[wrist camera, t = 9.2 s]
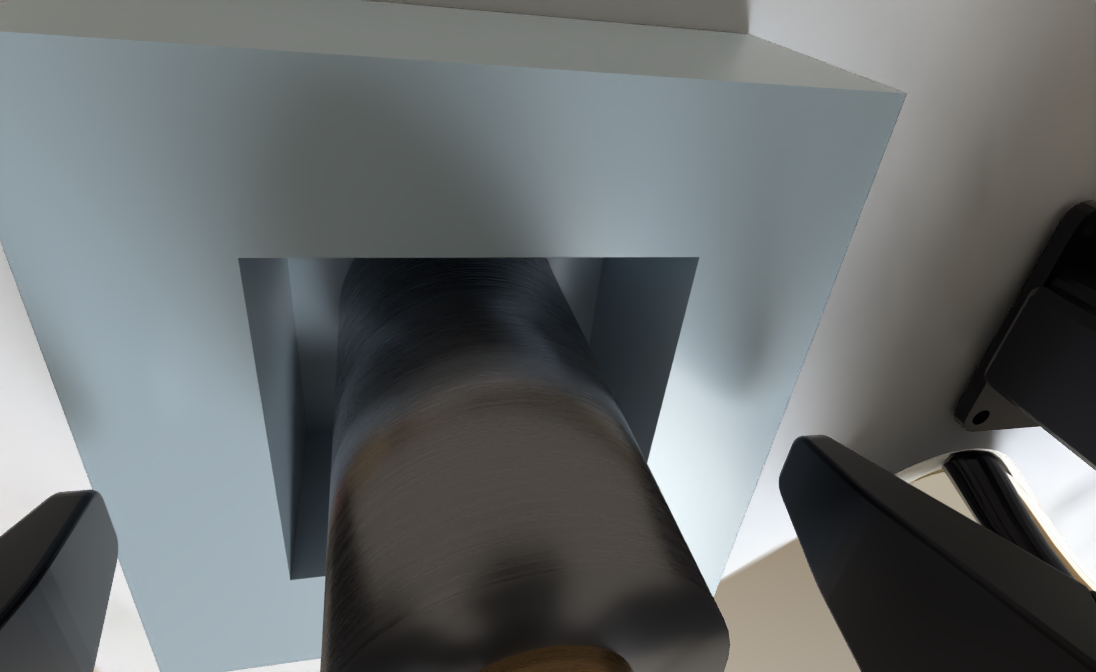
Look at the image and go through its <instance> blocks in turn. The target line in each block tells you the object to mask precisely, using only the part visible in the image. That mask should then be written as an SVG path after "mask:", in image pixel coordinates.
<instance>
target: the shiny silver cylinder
mask: <svg viewBox="0 0 1096 672" xmlns="http://www.w3.org/2000/svg"><path fill="white" fill-rule="evenodd" d="M894 475H895V476H897V477H899V478H901V479H902V480H904V481H906V482H907V483H909V484H911V485H913V486H914V487H916V488H918V489H920V490H921V491H923V492H925V493H926V494H928V495H930V496H932V497H933V498H935V499H937V500H939V501H940V502H942V503H944V504H945V505H947V506H949V507H951V508H952V509H954V510H956V511H958V512H959V513H961V514H963V515H964V516H966V517H968V518H970V519H971V520H973V521H975V522H977V523H978V524H980V525H982V526H983V527H985V528H987V529H989V530H990V531H992V532H994V533H996V534H997V535H999V536H1001V537H1002V538H1004V539H1006V540H1008V541H1009V542H1011V543H1013V544H1015V545H1016V546H1018V547H1020V548H1021V549H1023V550H1025V551H1027V552H1028V553H1030V554H1032V555H1034V556H1035V557H1037V558H1039V559H1040V560H1042V561H1044V562H1046V563H1047V564H1049V565H1051V566H1053V567H1054V568H1056V569H1058V570H1059V571H1061V572H1063V573H1065V574H1066V575H1068V576H1070V577H1071V578H1073V579H1075V580H1077V581H1078V582H1080V583H1082V584H1084V585H1085V586H1086V587H1087V588H1088V589H1089V591H1090V590H1094V591H1096V578H1095V577H1094V576H1093V575H1092V573H1091V572H1090V571H1089V570H1088V569H1087V568H1086V566H1085V565H1084V564H1083V563H1082V562H1081V561H1080V560H1079V558H1078V557H1077V556H1076V555H1075V554H1074V553H1073V551H1072V550H1071V549H1070V547H1069V546H1068V545H1067V543H1066V542H1065V541H1064V539H1063V538H1062V536H1061V535H1060V534H1059V532H1058V531H1057V530H1056V528H1055V527H1054V525H1053V524H1052V522H1051V520H1050V519H1049V517H1048V516H1047V514H1046V513H1045V511H1044V509H1043V508H1042V506H1041V505H1040V503H1039V501H1038V500H1037V498H1036V497H1035V495H1034V493H1033V492H1032V490H1031V488H1030V487H1029V485H1028V483H1027V482H1026V480H1025V479H1024V477H1023V476H1022V474H1021V472H1020V471H1019V469H1018V468H1017V466H1016V465H1015V464H1014V462H1013V461H1012V460H1011V459H1010V458H1009V457H1008V456H1006V455H1005V454H1004V453H1002V452H1000V451H997V450H992V449H985V448H975V449H965V450H959V451H955V452H950V453H947V454H943V455H940V456H937V457H933V458H931V459H928V460H925V461H923V462H920V463H918V464H915V465H913V466H911V467H908V468H906V469H904V470H902V471H900V472H898V473H896V474H894Z"/></svg>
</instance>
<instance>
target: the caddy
mask: <svg viewBox="0 0 1096 672" xmlns="http://www.w3.org/2000/svg"><path fill="white" fill-rule="evenodd" d="M906 95H907V93H904V92H902V91H899V90H896V89H894V88H891V87H888V86H886V85H883V84H880V83H878V82H875V81H872V80H870V79H867V78H865V77H862V76H859V75H857V74H854V73H851V72H849V71H846V70H843V69H841V68H838V67H835V66H833V65H830V64H827V63H825V62H822V61H819V60H817V59H814V58H812V57H809V56H806V55H804V54H801V53H798V52H796V51H793V50H790V49H788V48H785V47H782V46H780V45H777V44H774V43H772V42H769V41H766V40H764V39H761V38H759V37H756V36H753V35H751V34H741V33H729V32H718V31H707V30H695V29H684V28H673V27H661V26H650V25H639V24H627V23H616V22H605V21H593V20H582V19H571V18H559V17H548V16H537V15H525V14H514V13H502V12H491V11H480V10H468V9H457V8H446V7H434V6H423V5H412V4H400V3H389V2H378V1H366V0H6V1H3V2H0V241H1V244H2V246H3V249H4V252H5V254H6V257H7V260H8V263H9V265H10V268H11V271H12V273H13V276H14V279H15V281H16V284H17V287H18V290H19V292H20V295H21V298H22V300H23V303H24V306H25V308H26V311H27V314H28V317H29V319H30V322H31V325H32V327H33V330H34V333H35V335H36V338H37V341H38V344H39V346H40V349H41V352H42V354H43V357H44V360H45V362H46V365H47V368H48V370H49V373H50V376H51V379H52V381H53V384H54V387H55V389H56V392H57V395H58V397H59V400H60V403H61V406H62V408H63V411H64V414H65V416H66V419H67V422H68V424H69V427H70V430H71V433H72V435H73V438H74V441H75V443H76V446H77V449H78V451H79V454H80V457H81V460H82V462H83V465H84V468H85V470H86V473H87V476H88V478H89V481H90V484H91V487H92V489H93V490H95V491H98V492H99V493H100V494H101V495H102V497H103V499H104V502H105V504H106V507H107V510H108V513H109V515H110V518H111V521H112V524H113V526H114V529H115V532H116V535H117V538H118V559H119V562H120V565H121V567H122V570H123V573H124V576H125V578H126V581H127V584H128V586H129V589H130V592H131V594H132V597H133V600H134V603H135V605H136V608H137V611H138V613H139V616H140V619H141V621H142V624H143V627H144V629H145V632H146V635H147V638H148V640H149V643H150V646H151V648H152V651H153V654H154V656H155V659H156V662H157V665H158V667H159V670H160V672H226V671H233V670H240V669H247V668H255V667H262V666H269V665H276V664H283V663H290V662H298V661H305V660H312V659H319V658H321V650H322V631H323V612H324V592H325V573H326V554H327V535H328V516H329V497H330V477H331V458H332V439H333V420H334V401H335V382H336V362H337V343H338V324H339V305H340V296H341V289H342V286H343V283H344V279H345V276H346V274H347V272H348V270H349V268H350V266H351V264H352V262H353V261H354V260H355V258H488V257H545V258H546V259H547V261H548V263H549V265H550V267H551V269H552V271H553V273H554V275H555V277H556V279H557V281H558V283H559V285H560V287H561V290H562V292H563V294H564V296H565V298H566V300H567V302H568V304H569V306H570V308H571V310H572V312H573V314H574V316H575V318H576V320H577V322H578V324H579V326H580V328H581V330H582V332H583V334H584V336H585V338H586V340H587V342H588V344H589V346H590V348H591V350H592V352H593V354H594V356H595V359H596V361H597V363H598V365H599V367H600V369H601V371H602V373H603V375H604V377H605V379H606V381H607V383H608V385H609V387H610V389H611V391H612V393H613V395H614V397H615V399H616V401H617V403H618V405H619V407H620V409H621V411H622V413H623V415H624V417H625V419H626V421H627V423H628V425H629V428H630V430H631V432H632V434H633V436H634V438H635V440H636V442H637V444H638V446H639V448H640V450H641V452H642V454H643V456H644V458H645V460H646V462H647V464H648V466H649V468H650V470H651V472H652V474H653V476H654V478H655V480H656V482H657V484H658V486H659V488H660V490H661V492H662V494H663V497H664V499H665V501H666V503H667V505H668V507H669V509H670V511H671V513H672V515H673V517H674V519H675V521H676V523H677V525H678V527H679V529H680V531H681V533H682V535H683V537H684V539H685V541H686V543H687V545H688V547H689V549H690V551H691V553H692V555H693V557H694V559H695V561H696V563H697V566H698V568H699V570H700V572H701V574H702V576H703V578H704V580H705V582H706V584H707V586H708V588H709V590H710V592H711V594H712V596H713V597H714V594H715V592H716V589H717V586H718V584H719V581H720V579H721V576H722V573H723V571H724V568H725V566H726V563H727V560H728V558H729V555H730V553H731V550H732V547H733V545H734V542H735V540H736V537H737V534H738V532H739V529H740V527H741V524H742V521H743V519H744V516H745V514H746V511H747V508H748V506H749V503H750V501H751V498H752V495H753V493H754V490H755V487H756V485H757V482H758V480H759V477H760V474H761V472H762V469H763V467H764V464H765V461H766V459H767V456H768V454H769V451H770V448H771V446H772V443H773V441H774V438H775V435H776V433H777V430H778V428H779V425H780V422H781V420H782V417H783V415H784V412H785V409H786V407H787V404H788V402H789V399H790V396H791V394H792V391H793V389H794V386H795V383H796V381H797V378H798V376H799V373H800V370H801V368H802V365H803V363H804V360H805V357H806V355H807V352H808V350H809V347H810V344H811V342H812V339H813V337H814V334H815V331H816V329H817V326H818V324H819V321H820V318H821V316H822V313H823V311H824V308H825V305H826V303H827V300H828V298H829V295H830V292H831V290H832V287H833V285H834V282H835V279H836V277H837V274H838V272H839V269H840V266H841V264H842V261H843V259H844V256H845V253H846V251H847V248H848V246H849V243H850V240H851V238H852V235H853V233H854V230H855V227H856V225H857V222H858V220H859V217H860V214H861V212H862V209H863V207H864V204H865V201H866V199H867V196H868V194H869V191H870V188H871V186H872V183H873V181H874V178H875V175H876V173H877V170H878V168H879V165H880V162H881V160H882V157H883V155H884V152H885V149H886V147H887V144H888V141H889V139H890V136H891V134H892V131H893V128H894V126H895V123H896V121H897V118H898V115H899V113H900V110H901V108H902V105H903V102H904V100H905V97H906Z"/></svg>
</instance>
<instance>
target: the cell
mask: <svg viewBox="0 0 1096 672" xmlns="http://www.w3.org/2000/svg"><path fill="white" fill-rule="evenodd" d="M729 648H730V641H729V633H728V629H727V626H726V623H725V621H724V618H723V616H722V614H721V612H720V610H719V608H718V606H717V604H716V602H715V600H714V598H713V596H712V594H711V592H710V590H709V588H708V586H707V584H706V582H705V580H704V578H703V576H702V574H701V572H700V570H699V568H698V566H697V563H696V561H695V559H694V557H693V555H692V553H691V551H690V549H689V547H688V545H687V543H686V541H685V539H684V537H683V535H682V533H681V531H680V529H679V527H678V525H677V523H676V521H675V519H674V517H673V515H672V513H671V511H670V509H669V507H668V505H667V503H666V501H665V499H664V497H663V494H662V492H661V490H660V488H659V486H658V484H657V482H656V480H655V478H654V476H653V474H652V472H651V470H650V468H649V466H648V464H647V462H646V460H645V458H644V456H643V454H642V452H641V450H640V448H639V446H638V444H637V442H636V440H635V438H634V436H633V434H632V432H631V430H630V428H629V425H628V423H627V421H626V419H625V417H624V415H623V413H622V411H621V409H620V407H619V405H618V403H617V401H616V399H615V397H614V395H613V393H612V391H611V389H610V387H609V385H608V383H607V381H606V379H605V377H604V375H603V373H602V371H601V369H600V367H599V365H598V363H597V361H596V359H595V356H594V354H593V352H592V350H591V348H590V346H589V344H588V342H587V340H586V338H585V336H584V334H583V332H582V330H581V328H580V326H579V324H578V322H577V320H576V318H575V316H574V314H573V312H572V310H571V308H570V306H569V304H568V302H567V300H566V298H565V296H564V294H563V292H562V290H561V287H560V285H559V283H558V281H557V279H556V277H555V275H554V273H553V271H552V269H551V267H550V265H549V263H548V261H547V259H546V258H545V257H488V258H355V260H354V261H353V262H352V264H351V266H350V268H349V270H348V272H347V274H346V276H345V279H344V283H343V286H342V289H341V296H340V305H339V324H338V343H337V362H336V382H335V401H334V420H333V439H332V458H331V477H330V497H329V516H328V535H327V554H326V573H325V592H324V612H323V631H322V650H321V669H320V672H724V669H725V666H726V663H727V660H728V655H729Z"/></svg>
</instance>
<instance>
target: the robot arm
mask: <svg viewBox="0 0 1096 672" xmlns="http://www.w3.org/2000/svg"><path fill="white" fill-rule="evenodd" d="M953 416H954V419H955V420H956V421H957V422H958V423H959V424H960V425H961V426H962V427H964V428H965V429H966V430H967V431H972V432H975V431H987V430H1000V429H1012V428H1025V427H1037V426H1041V427H1042V428H1043V429H1044V430H1046V431H1047V432H1048V433H1049V434H1051V435H1052V436H1053V437H1054V438H1056V439H1057V440H1058V441H1059V442H1061V443H1062V444H1063V445H1064V446H1066V447H1067V448H1068V449H1069V450H1071V451H1072V452H1073V453H1074V454H1076V455H1077V456H1078V457H1079V458H1081V459H1082V460H1083V461H1084V462H1086V463H1087V464H1088V465H1089V466H1091V467H1092V468H1093V469H1094V470H1096V201H1085V202H1081V203H1080V204H1078V205H1076V206H1074V207H1073V208H1072V209H1071V210H1070V211H1068V212H1067V213H1066V215H1065V216H1064V217H1063V219H1062V220H1061V222H1060V223H1059V225H1058V227H1057V229H1056V230H1055V232H1054V234H1053V236H1052V238H1051V239H1050V241H1049V243H1048V245H1047V246H1046V248H1045V250H1044V252H1043V254H1042V255H1041V257H1040V259H1039V261H1038V262H1037V264H1036V266H1035V268H1034V270H1033V271H1032V273H1031V275H1030V277H1029V279H1028V280H1027V282H1026V284H1025V286H1024V287H1023V289H1022V291H1021V293H1020V295H1019V296H1018V298H1017V300H1016V302H1015V303H1014V305H1013V307H1012V309H1011V311H1010V312H1009V314H1008V316H1007V318H1006V319H1005V321H1004V323H1003V325H1002V327H1001V328H1000V330H999V332H998V334H997V336H996V337H995V339H994V341H993V343H992V344H991V346H990V348H989V350H988V352H987V353H986V355H985V357H984V359H983V360H982V362H981V364H980V366H979V368H978V369H977V371H976V373H975V375H974V376H973V378H972V380H971V382H970V384H969V385H968V387H967V389H966V391H965V393H964V394H963V396H962V398H961V400H960V401H959V403H958V405H957V407H956V409H955V411H954V414H953ZM779 489H780V493H781V496H782V498H783V501H784V503H785V506H786V509H787V511H788V514H789V516H790V519H791V521H792V524H793V526H794V529H795V531H796V534H797V536H798V539H799V541H800V544H801V546H802V549H803V552H804V554H805V557H806V559H807V562H808V564H809V567H810V569H811V572H812V573H813V576H814V579H815V581H816V583H817V586H818V588H819V590H820V592H821V594H822V596H823V598H824V600H825V602H826V604H827V606H828V608H829V610H830V612H831V614H832V616H833V618H834V620H835V622H836V624H837V626H838V628H839V629H840V631H841V634H842V636H843V637H844V639H845V641H846V643H847V645H848V647H849V649H850V651H851V653H852V655H853V657H854V659H855V661H856V663H857V665H858V667H859V669H860V671H861V672H1096V591H1094V590H1090V591H1089V589H1088V588H1087V587H1086V586H1085V585H1084V584H1082V583H1080V582H1078V581H1077V580H1075V579H1073V578H1071V577H1070V576H1068V575H1066V574H1065V573H1063V572H1061V571H1059V570H1058V569H1056V568H1054V567H1053V566H1051V565H1049V564H1047V563H1046V562H1044V561H1042V560H1040V559H1039V558H1037V557H1035V556H1034V555H1032V554H1030V553H1028V552H1027V551H1025V550H1023V549H1021V548H1020V547H1018V546H1016V545H1015V544H1013V543H1011V542H1009V541H1008V540H1006V539H1004V538H1002V537H1001V536H999V535H997V534H996V533H994V532H992V531H990V530H989V529H987V528H985V527H983V526H982V525H980V524H978V523H977V522H975V521H973V520H971V519H970V518H968V517H966V516H964V515H963V514H961V513H959V512H958V511H956V510H954V509H952V508H951V507H949V506H947V505H945V504H944V503H942V502H940V501H939V500H937V499H935V498H933V497H932V496H930V495H928V494H926V493H925V492H923V491H921V490H920V489H918V488H916V487H914V486H913V485H911V484H909V483H907V482H906V481H904V480H902V479H901V478H899V477H897V476H895V475H894V474H892V473H890V472H888V471H887V470H885V469H883V468H882V467H880V466H878V465H876V464H875V463H873V462H871V461H869V460H868V459H866V458H864V457H863V456H861V455H859V454H857V453H856V452H854V451H852V450H851V449H849V448H847V447H845V446H844V445H842V444H840V443H838V442H837V441H835V440H833V439H832V438H830V437H828V436H825V435H809V436H800V437H798V438H797V439H796V440H795V441H794V442H793V444H792V446H791V449H790V451H789V453H788V456H787V458H786V461H785V463H784V466H783V468H782V471H781V473H780V476H779ZM117 558H118V538H117V535H116V532H115V529H114V526H113V524H112V521H111V518H110V515H109V513H108V510H107V507H106V504H105V502H104V499H103V497H102V495H101V494H100V493H99V492H98V491H95V490H80V491H67V492H59V493H56V494H54V495H52V496H50V497H49V498H47V499H46V500H45V501H44V502H42V503H41V504H40V505H39V506H38V507H36V508H35V509H34V510H33V511H31V512H30V513H29V514H28V515H26V516H25V517H24V518H23V519H21V520H20V521H19V522H18V523H16V524H15V525H14V526H13V527H11V528H10V529H9V530H8V531H6V532H5V533H4V534H3V535H2V536H0V672H93V670H94V666H95V661H96V657H97V652H98V647H99V643H100V638H101V633H102V629H103V624H104V619H105V614H106V610H107V605H108V600H109V596H110V591H111V586H112V582H113V577H114V572H115V568H116V563H117Z"/></svg>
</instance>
